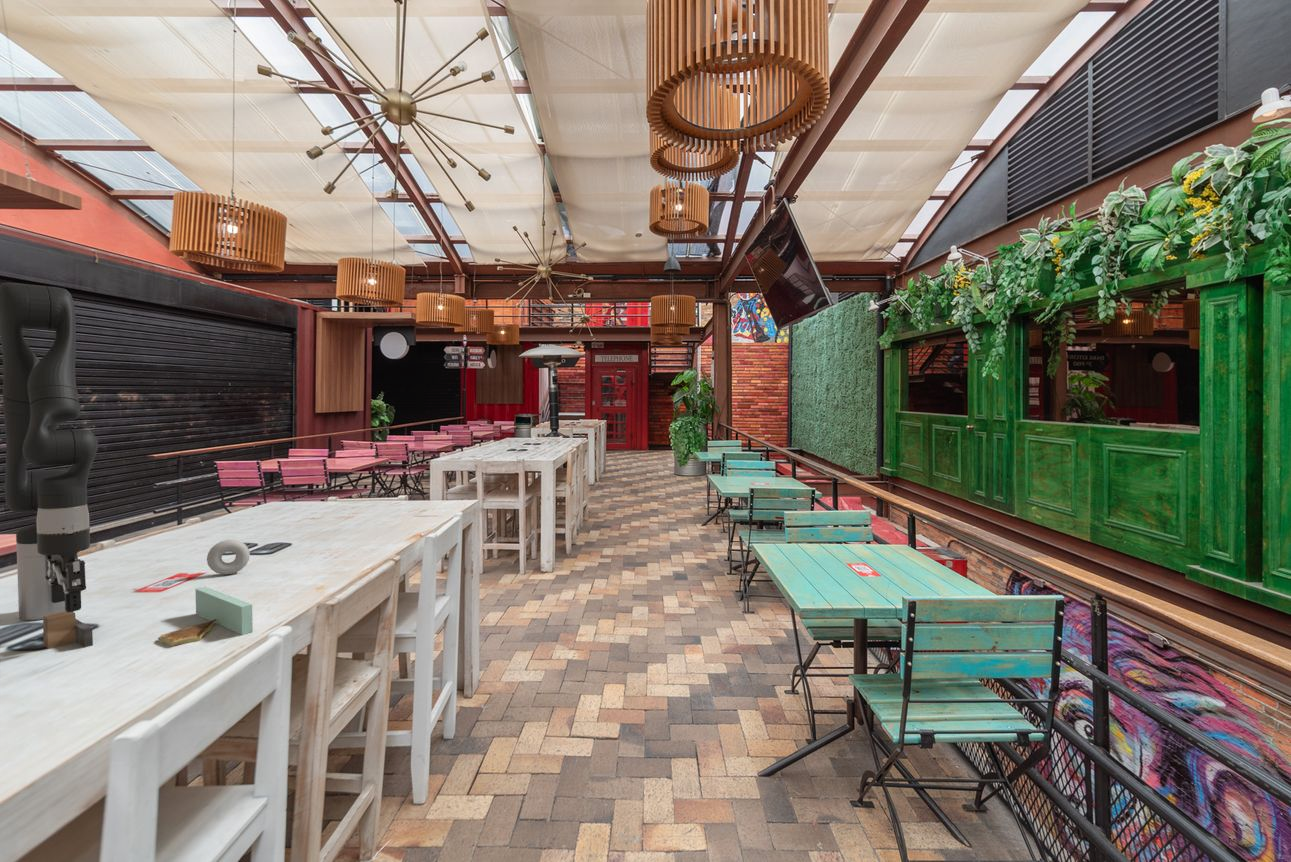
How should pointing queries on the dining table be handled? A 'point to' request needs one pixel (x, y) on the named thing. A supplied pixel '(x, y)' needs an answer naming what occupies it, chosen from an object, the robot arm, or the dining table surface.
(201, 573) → the dining table surface
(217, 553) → the donut
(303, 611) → the dining table surface
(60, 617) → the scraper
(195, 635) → the shard
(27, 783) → the dining table surface
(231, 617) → the stop rail
